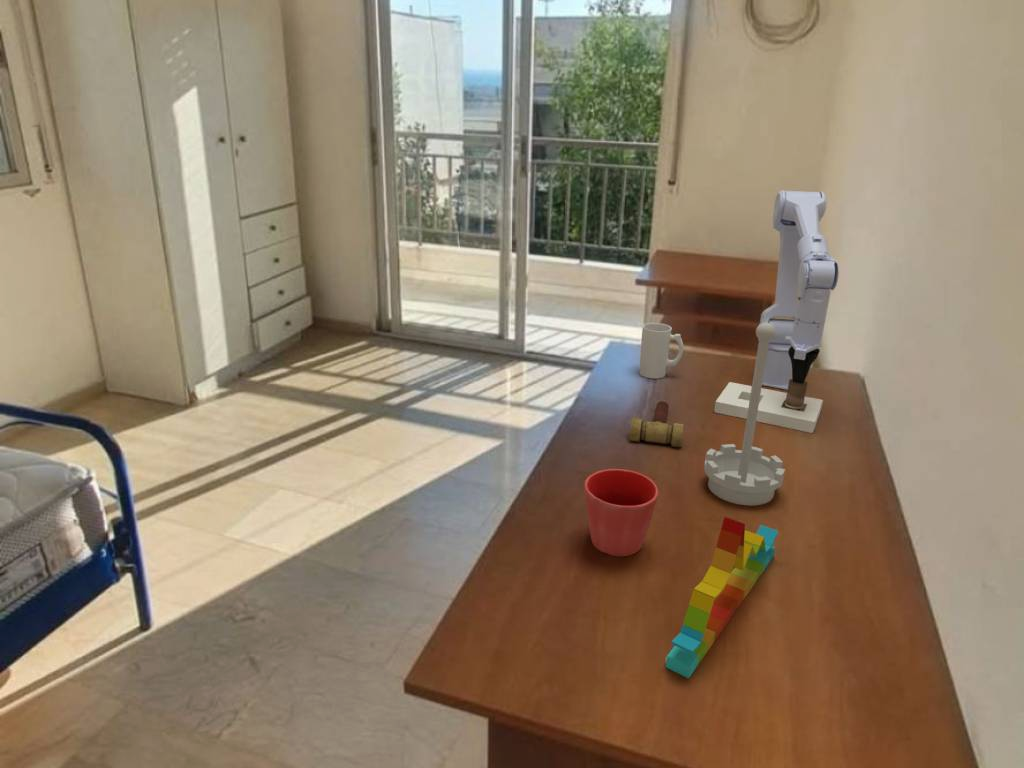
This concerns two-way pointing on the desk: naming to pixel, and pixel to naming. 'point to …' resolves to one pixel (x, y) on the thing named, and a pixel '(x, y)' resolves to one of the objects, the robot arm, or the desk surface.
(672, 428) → the gavel
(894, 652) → the desk surface
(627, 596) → the desk surface
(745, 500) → the flag stand
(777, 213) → the robot arm
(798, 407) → the peg
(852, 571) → the desk surface
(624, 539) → the flower pot
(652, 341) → the mug
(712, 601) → the chart
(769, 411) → the board
